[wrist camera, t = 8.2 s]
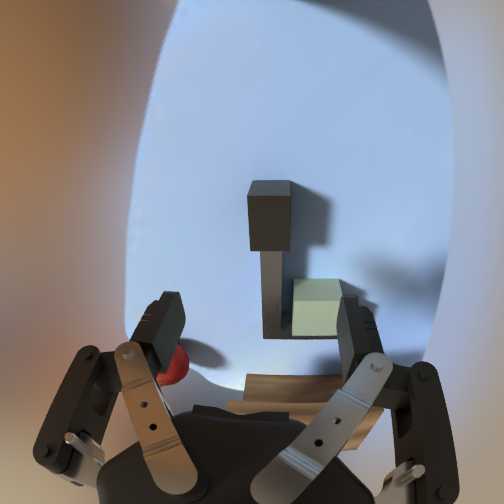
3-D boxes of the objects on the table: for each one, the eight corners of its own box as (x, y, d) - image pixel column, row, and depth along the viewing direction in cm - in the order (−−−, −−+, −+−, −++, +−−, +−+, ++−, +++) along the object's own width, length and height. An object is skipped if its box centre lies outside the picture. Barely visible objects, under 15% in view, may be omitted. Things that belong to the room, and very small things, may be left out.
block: (293, 277, 31) (294, 301, 28) (338, 278, 31) (343, 301, 27) (292, 311, 34) (292, 335, 30) (333, 311, 33) (336, 335, 30)
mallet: (252, 180, 26) (247, 195, 22) (375, 183, 25) (390, 199, 21) (259, 320, 35) (256, 347, 31) (352, 321, 34) (358, 347, 30)
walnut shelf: (241, 326, 36) (225, 411, 25) (365, 326, 34) (384, 410, 23) (247, 379, 42) (236, 450, 31) (348, 379, 40) (356, 449, 29)
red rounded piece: (201, 344, 38) (188, 390, 31) (184, 361, 41) (170, 403, 34) (166, 323, 37) (146, 368, 30) (151, 342, 40) (133, 383, 33)
